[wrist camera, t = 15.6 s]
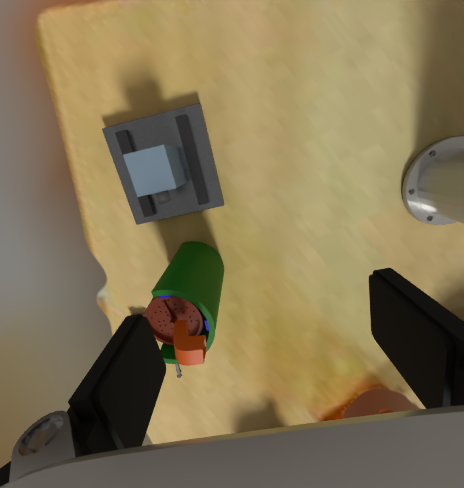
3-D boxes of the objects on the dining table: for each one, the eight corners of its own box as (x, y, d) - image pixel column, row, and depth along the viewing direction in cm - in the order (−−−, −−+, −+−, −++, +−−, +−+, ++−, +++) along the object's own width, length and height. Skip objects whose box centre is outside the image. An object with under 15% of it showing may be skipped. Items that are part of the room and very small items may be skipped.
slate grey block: (177, 146, 35) (163, 144, 29) (190, 192, 37) (180, 201, 31) (143, 154, 36) (122, 154, 29) (158, 200, 38) (141, 209, 31)
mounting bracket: (201, 105, 35) (198, 101, 32) (224, 203, 39) (223, 206, 37) (107, 129, 36) (98, 128, 34) (140, 222, 40) (134, 226, 38)
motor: (164, 246, 42) (105, 321, 23) (216, 236, 41) (199, 305, 22) (180, 298, 45) (140, 400, 26) (229, 289, 44) (223, 389, 26)
